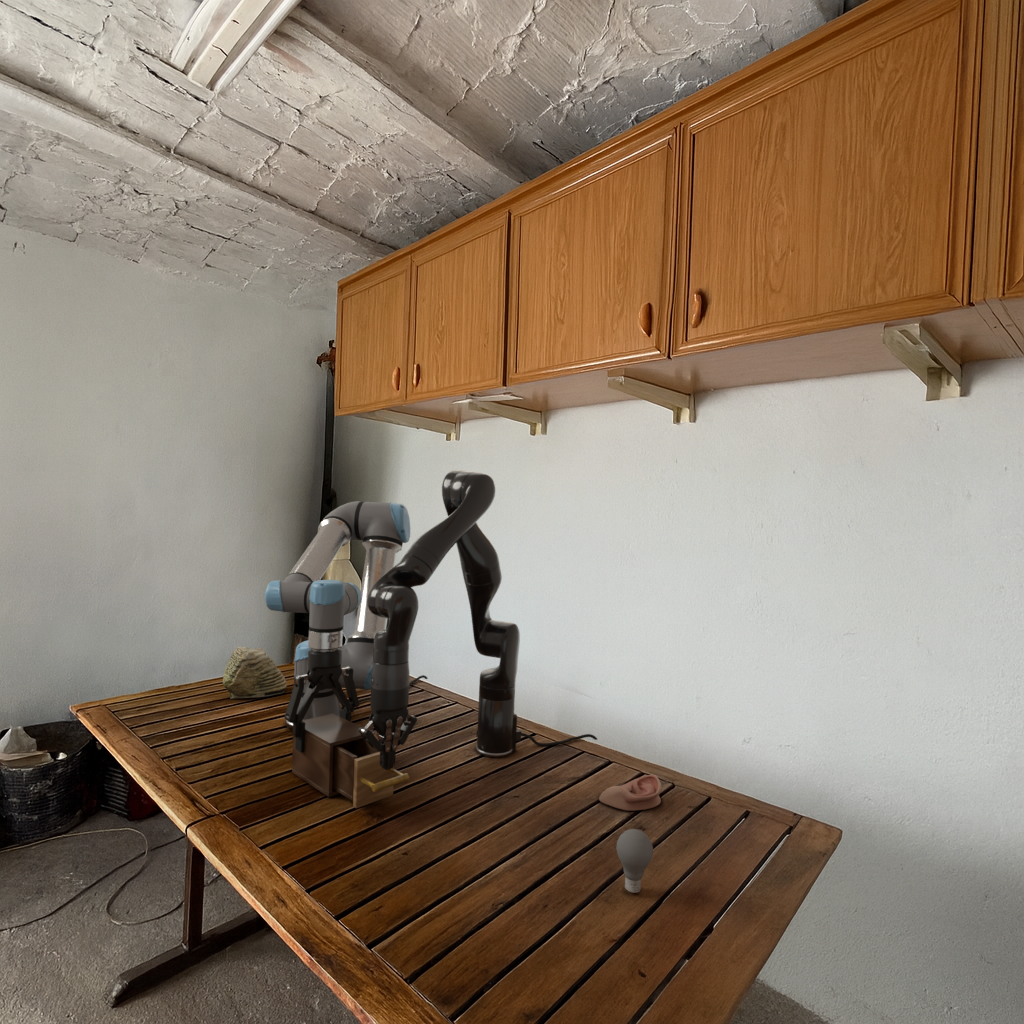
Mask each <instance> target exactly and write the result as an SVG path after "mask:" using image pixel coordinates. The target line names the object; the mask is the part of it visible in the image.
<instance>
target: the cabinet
mask: <svg viewBox="0 0 1024 1024" xmlns="http://www.w3.org/2000/svg"><path fill="white" fill-rule="evenodd" d="M302 721H303V722H305V746H304V752H302V753H301V752H299V751H298V750H296V749H295V747H296V737H294V736H293V735H292V752H291V753H292V755H291V757H292V758H291V773H292V774H294V775H295V776H297V777H298V778H300V779H301V780H302V781H304V782H305V783H307V784H309V785H310V786H311V787H313V788H314V789H316V790H318V791H319V792H321V793H322V794H323V795H325V796H326V797H328V798H330V797H333V796H334V797H335V796H336V795H339V794H341V793H339V792H337V791H336V790H334V789H333V788H332V779H333V746H335V745H339V744H343V743H346V742H350V741H354V740H357V739H361V738H364V737H363V736H362V735H361V734H360V732H359V728H360V727H361V726H360V725H358V724H356V723H354V722H352V721H351V722H350V721H348V720H346V719H344V718H342V717H340V716H338V715H335V714H333V713H332V714H328V715H324V716H320V717H315V718H311V719H307V720H302Z"/></svg>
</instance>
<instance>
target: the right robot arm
mask: <svg viewBox="0 0 1024 1024" xmlns="http://www.w3.org/2000/svg"><path fill="white" fill-rule="evenodd" d="M441 497H442V502H443V505H444V508H445V511H446V515H447V517H446V518H444V519H442V520H441V521H440V522H438V523H437V524H435V525H434V526H432V527H430V528H428V529H427V530H426V531H424V532H423V533H422V534H421V535H420V536H418V538H416V539H415V541H414V542H413V543H412V545H411V546H410V547H409V549H408V550H407V551H406V552H405V554H404V555H403V556H402V558H401V559H400V561H399V562H397V564H395V566H394V567H393V568H392V569H390V570H389V571H388V572H387V573H386V574H385V575H383V576H382V577H381V578H380V579H379V580H378V581H377V582H376V583H375V584H374V585H373V587H372V588H371V590H370V592H369V595H368V600H367V604H368V608H369V610H370V611H371V613H373V614H374V615H376V616H379V617H383V618H387V620H388V623H387V625H388V626H386V630H381V631H379V632H378V633H376V635H375V637H374V648H373V666H372V673H371V690H370V697H371V700H370V703H369V704H370V709H371V712H370V714H369V717H368V722H367V724H366V725H365V726H360V728H359V732H360V734H361V735H362V736H363V737H364V739H365V740H366V741H367V742H368V743H369V745H370V746H371V747H372V748H374V749H375V750H377V751H379V752H380V766H382V768H383V769H385V770H389V769H392V768H393V767H394V768H395V764H396V755H397V754H396V752H397V749H398V747H400V746H403V745H404V744H405V743H406V741H407V740H408V738H409V736H410V734H411V733H412V731H413V729H414V727H415V726H416V724H417V722H418V717H417V716H414V715H413V714H410V713H409V708H408V705H409V702H410V701H409V699H410V697H409V696H410V686H409V683H410V662H409V658H410V657H409V656H410V641H411V636H412V633H413V630H414V625H415V623H416V619H417V616H418V612H419V606H420V605H419V599H418V598H419V597H418V595H417V593H416V591H415V589H413V588H414V587H419V586H423V585H425V584H427V583H428V581H429V580H430V578H431V577H432V576H433V574H434V573H435V572H436V570H437V568H438V567H439V566H440V564H441V563H442V561H443V560H444V559H445V557H446V556H447V554H448V553H449V551H451V549H452V548H454V546H455V545H456V549H457V552H458V556H459V561H460V562H459V563H460V567H461V572H462V577H463V581H464V585H465V588H466V594H467V598H468V604H469V608H470V615H471V616H470V617H471V623H472V633H473V641H474V646H475V649H476V652H477V653H478V654H479V655H482V656H485V657H490V658H494V659H499V664H498V666H495V667H490V668H486V669H484V670H482V671H481V672H480V673H479V684H478V685H479V686H478V687H479V688H478V690H479V691H478V708H477V709H478V711H477V729H476V744H475V745H476V748H475V749H476V752H477V753H478V754H479V755H481V756H483V757H489V758H504V757H507V756H509V755H511V754H512V753H516V751H517V750H516V749H517V742H521V741H522V737H525V738H527V739H529V740H530V741H531V742H532V743H533V744H535V745H536V746H539V747H550V746H551V747H553V746H558V745H564V744H567V743H570V742H573V741H576V740H580V739H584V738H592V739H593V740H595V741H598V738H597V736H595V735H594V734H591V733H588V734H587V733H584V734H582V735H578V736H572V737H569V738H567V739H563V740H558V741H553V742H539V741H538V740H536V739H535V738H534V737H533V736H532V735H529V734H527V733H524V732H522V730H521V729H519V728H518V715H517V713H515V703H516V681H517V674H518V667H519V666H518V664H519V653H520V644H521V633H520V628H519V626H518V624H516V623H515V622H511V621H510V622H509V621H503V620H493V618H492V617H491V614H490V606H491V604H492V602H493V600H494V598H495V596H496V595H497V593H498V591H499V589H500V586H501V584H502V579H503V575H502V569H501V564H500V558H499V555H498V552H497V550H496V548H495V547H494V545H493V544H492V542H491V541H490V540H489V539H488V537H487V535H485V533H484V532H483V530H482V529H481V527H479V524H478V521H479V520H480V518H482V517H483V516H484V515H485V514H486V512H487V511H488V510H489V509H490V508H491V506H492V504H493V502H494V500H495V497H496V484H495V481H494V479H493V478H492V476H491V475H489V474H487V473H483V472H479V471H471V470H462V469H454V470H450V471H448V472H446V474H445V475H444V477H443V479H442V483H441ZM375 731H376V736H375Z"/></svg>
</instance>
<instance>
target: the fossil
mask: <svg viewBox="0 0 1024 1024" xmlns="http://www.w3.org/2000/svg"><path fill="white" fill-rule="evenodd" d="M222 676H223V677H222V685H223V687H224V688H225V690H226V691H228V693H229V698H230V699H250V698H264V697H271V696H275V695H281V694H284V693H285V691H286V689H287V687H288V686H287V680H286V678H285V676H284V674H283V673H282V672H281V669H279V668H278V667H277V665H276V663H275V662H274V660H273V659H272V658H271V657H270V656H269V655H268V654H267V653H266V652H265V650H264V649H263V648H260V647H258V648H251V647H247V646H246V647H245V646H238V647H237V648H236V649H235V650H233V651H232V653H231V656H230V657H229V659H228V660H227V663H226V666H225V668H224V671H223V675H222Z"/></svg>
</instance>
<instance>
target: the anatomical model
mask: <svg viewBox="0 0 1024 1024" xmlns="http://www.w3.org/2000/svg"><path fill="white" fill-rule="evenodd" d="M662 788H663V787H662V783H661V781H660V779H659V777H658V776H656V775H654V774H648V775H644V776H639V777H637V778H634V779H633V780H630V781H628V782H627V783H624V784H621V785H613V786H610V787H607V788H606V789H604V790H603V791H602V792H601V794H599V796H598V801H600V802H601V803H602V804H604V805H607V806H610V807H612V808H614V809H617V810H621V811H631V812H632V811H642V810H643V811H644V810H648V809H653V808H655V807H657V806H659V805H660V804H661V802H662V801H661V798H660V794H661V792H662V790H663V789H662Z"/></svg>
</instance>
